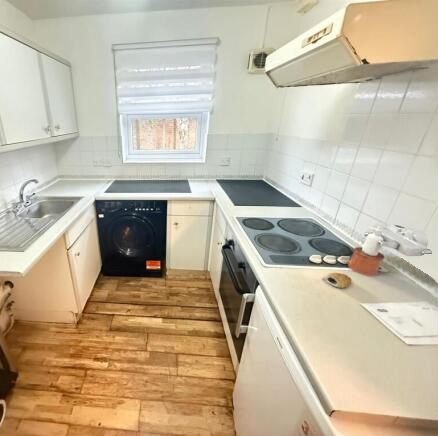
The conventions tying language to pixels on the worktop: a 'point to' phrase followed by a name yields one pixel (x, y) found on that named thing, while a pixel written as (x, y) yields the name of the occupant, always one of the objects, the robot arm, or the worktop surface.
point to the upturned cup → (365, 262)
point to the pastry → (338, 280)
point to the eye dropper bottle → (373, 242)
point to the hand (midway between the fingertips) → (372, 238)
